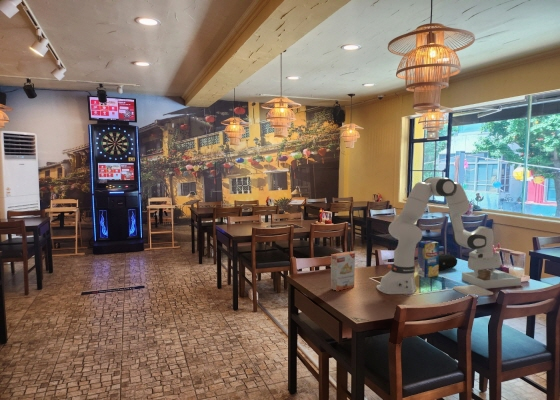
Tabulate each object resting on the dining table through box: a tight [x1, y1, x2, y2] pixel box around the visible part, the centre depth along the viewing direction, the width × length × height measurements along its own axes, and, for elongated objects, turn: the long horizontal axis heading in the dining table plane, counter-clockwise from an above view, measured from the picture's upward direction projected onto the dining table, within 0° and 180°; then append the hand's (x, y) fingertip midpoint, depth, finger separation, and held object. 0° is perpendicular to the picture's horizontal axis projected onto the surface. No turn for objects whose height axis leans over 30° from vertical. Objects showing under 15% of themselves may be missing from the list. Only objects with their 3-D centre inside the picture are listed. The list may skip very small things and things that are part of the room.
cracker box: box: [330, 251, 356, 292], centre depth 209 cm, size 14×6×21 cm, turn 123°
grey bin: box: [461, 269, 522, 290], centre depth 216 cm, size 26×18×5 cm
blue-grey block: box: [491, 270, 506, 280], centre depth 217 cm, size 5×5×6 cm
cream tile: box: [453, 284, 494, 297], centre depth 201 cm, size 14×14×2 cm
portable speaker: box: [439, 253, 458, 271], centre depth 247 cm, size 26×10×10 cm, turn 111°
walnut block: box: [477, 269, 491, 281], centre depth 215 cm, size 5×5×8 cm
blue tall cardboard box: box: [417, 240, 440, 278], centre depth 233 cm, size 7×11×22 cm, turn 108°
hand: (484, 275), depth 215 cm, fingers open, 8 cm apart
